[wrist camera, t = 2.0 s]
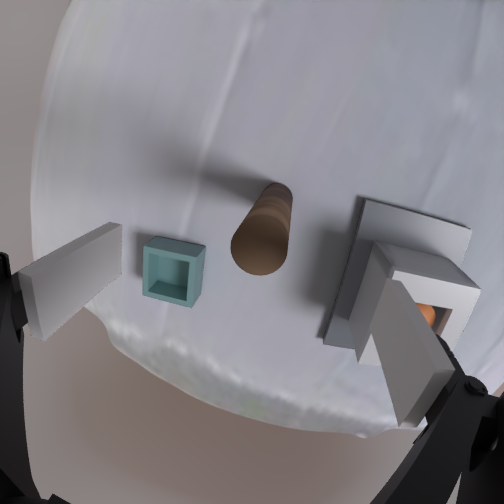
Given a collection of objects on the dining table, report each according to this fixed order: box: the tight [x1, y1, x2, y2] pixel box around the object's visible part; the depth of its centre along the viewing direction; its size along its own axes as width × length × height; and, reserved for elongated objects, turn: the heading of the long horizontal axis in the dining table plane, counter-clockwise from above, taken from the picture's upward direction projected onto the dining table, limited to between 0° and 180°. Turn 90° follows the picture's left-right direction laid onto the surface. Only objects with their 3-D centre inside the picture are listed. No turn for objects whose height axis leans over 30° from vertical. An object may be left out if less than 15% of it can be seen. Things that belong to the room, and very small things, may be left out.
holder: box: [143, 236, 206, 308], centre depth 35 cm, size 6×6×4 cm
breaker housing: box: [323, 198, 482, 367], centre depth 30 cm, size 18×14×9 cm
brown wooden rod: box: [231, 183, 293, 275], centre depth 25 cm, size 3×3×16 cm
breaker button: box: [415, 302, 435, 327], centre depth 29 cm, size 4×4×4 cm
